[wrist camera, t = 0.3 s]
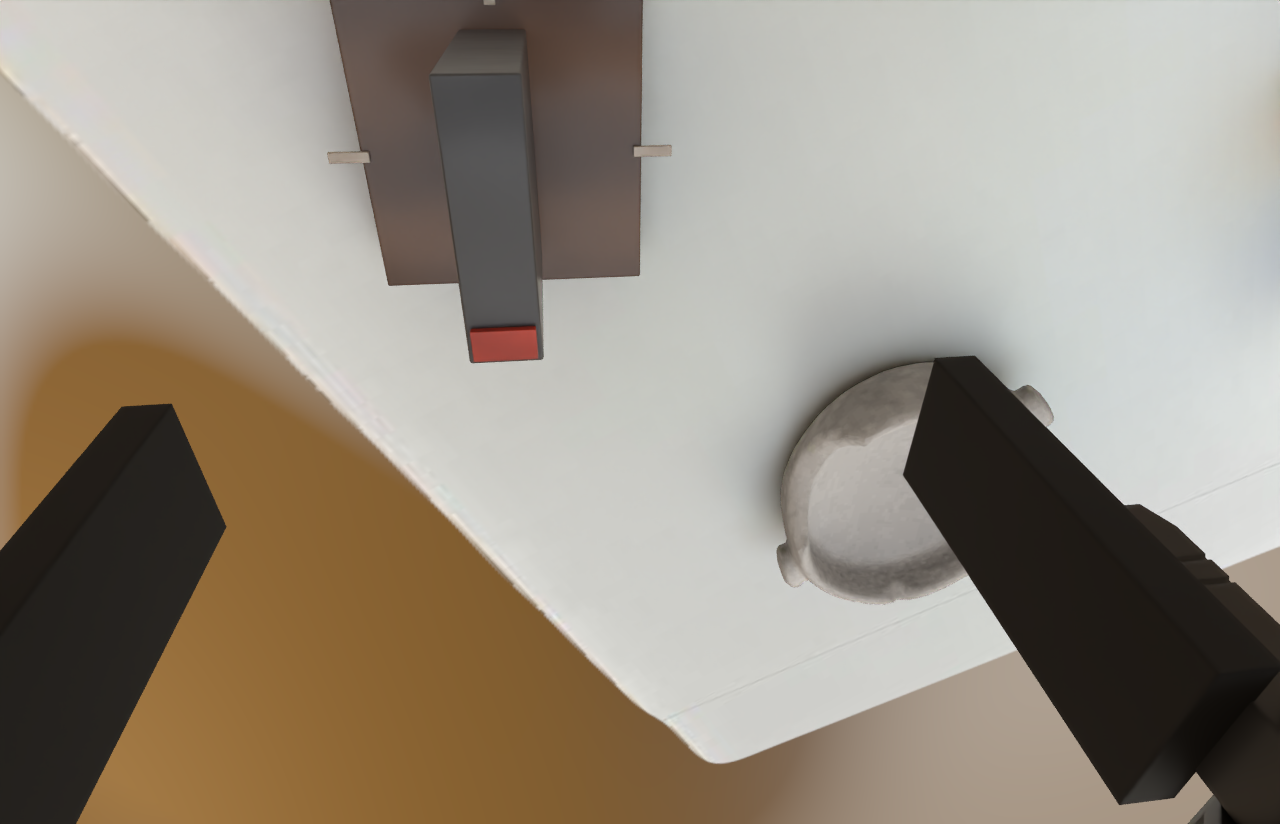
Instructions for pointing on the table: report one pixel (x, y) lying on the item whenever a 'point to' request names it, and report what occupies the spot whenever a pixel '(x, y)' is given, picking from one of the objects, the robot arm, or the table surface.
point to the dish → (868, 496)
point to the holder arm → (491, 190)
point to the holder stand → (561, 114)
